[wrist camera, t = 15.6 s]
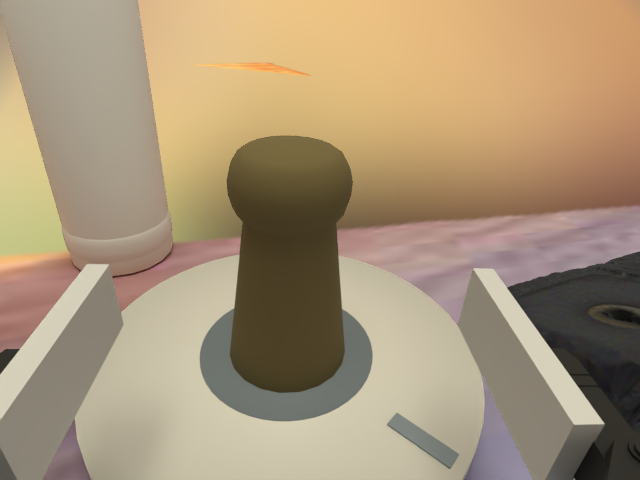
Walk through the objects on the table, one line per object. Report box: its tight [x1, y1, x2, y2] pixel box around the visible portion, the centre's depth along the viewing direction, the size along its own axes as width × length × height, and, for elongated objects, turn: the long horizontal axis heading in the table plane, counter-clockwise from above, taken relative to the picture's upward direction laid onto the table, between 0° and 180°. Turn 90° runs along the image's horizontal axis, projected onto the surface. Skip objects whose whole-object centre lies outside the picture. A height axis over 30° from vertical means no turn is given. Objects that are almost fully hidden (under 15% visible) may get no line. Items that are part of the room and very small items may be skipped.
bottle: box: [0, 0, 173, 276], centre depth 28 cm, size 8×8×30 cm
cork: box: [227, 136, 353, 393], centre depth 20 cm, size 6×6×11 cm
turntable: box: [75, 255, 485, 480], centre depth 23 cm, size 20×20×2 cm
